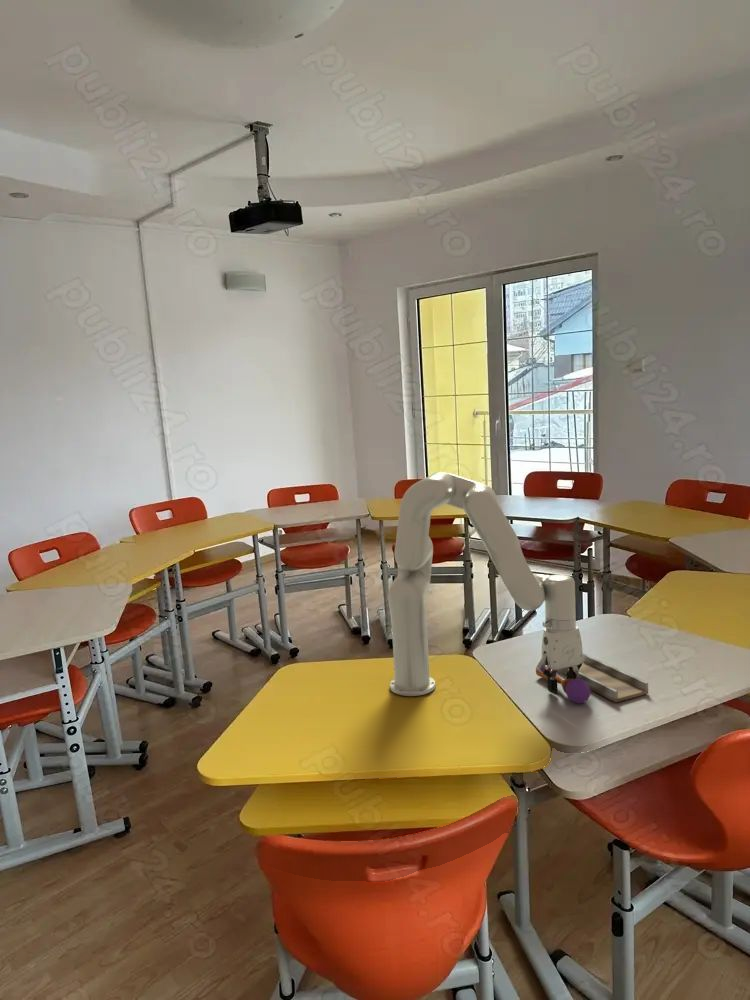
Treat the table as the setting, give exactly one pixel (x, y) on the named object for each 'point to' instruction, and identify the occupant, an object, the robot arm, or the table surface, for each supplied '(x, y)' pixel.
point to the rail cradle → (609, 680)
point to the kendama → (572, 688)
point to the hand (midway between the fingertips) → (562, 689)
